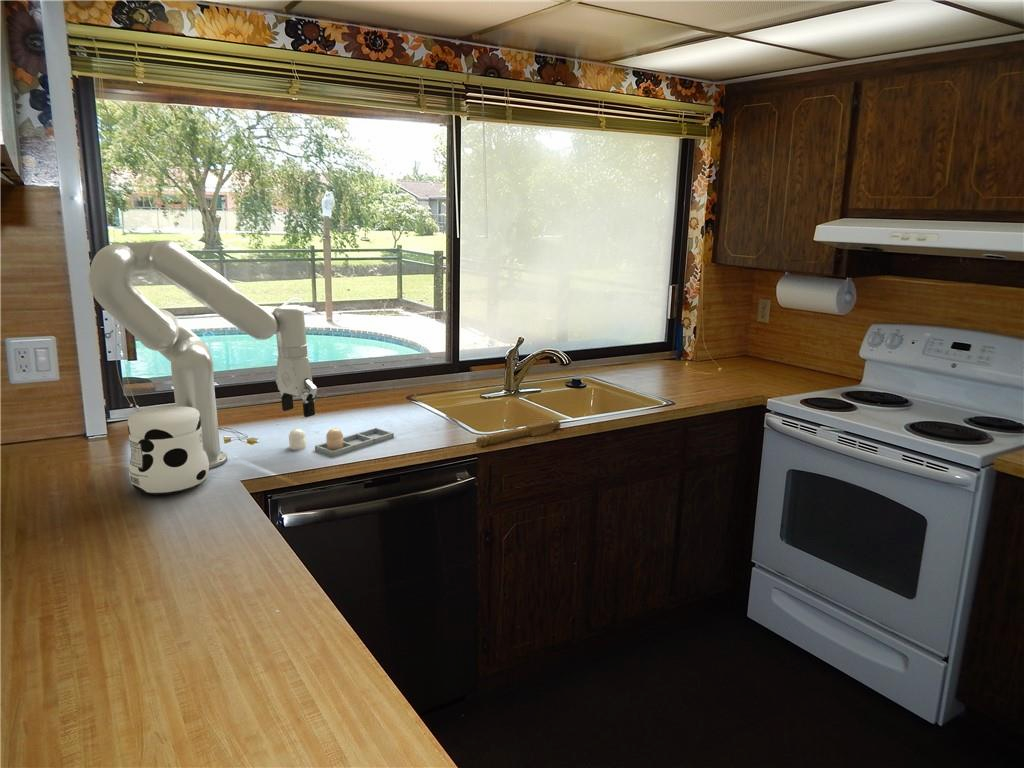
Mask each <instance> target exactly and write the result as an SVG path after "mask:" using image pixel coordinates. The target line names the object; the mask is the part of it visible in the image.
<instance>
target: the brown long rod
mask: <svg viewBox="0 0 1024 768" xmlns="http://www.w3.org/2000/svg"><path fill="white" fill-rule="evenodd" d="M560 428H561V422H560V421H559V420H557V419H556V420H553V421H551V420H542V421H537V422H534V423H533V422H532V423H529V424H525V427H523V428H519V429H515V430H509V431H504V432H497V433H492V434H488V435H486V436H478V437H477V438H476V439H475V443H476V445H477V446H478V447H480V448H481V447H487V446H488V445H490V446H491V445H494V444H498V443H499V444H500V443H502V442H506V441H510V440H514V439H517V438H521V437H528V436H529V437H534V436H539V435H543V434H548V433H552V432H554V430H558V429H560Z"/></svg>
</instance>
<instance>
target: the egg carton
mask: <svg viewBox="0 0 1024 768" xmlns="http://www.w3.org/2000/svg"><path fill="white" fill-rule="evenodd" d="M394 435H395V434H394V432H393V431H388V430H385V429H381V428H379V427H373V428H369V429H367V430H363V431H360V432H356V433H354V434H350V435H346V436H343V448H341V449H338V450H335V451H331V450H329V449H327V441H326V442H324V443H321V444H317V445H314V449H313V450H312V452H313V453H316V454H319V455H321V456H323V457H327V458H330V459H335V458H338V457H341V456H345V455H347V454H350V453H354V452H358V451H361V450H363V449H366V448H370V447H373V446H376V445H379V444H382V443H385V442H387V441H391V440H395V439H397V438H398V437H397V436H394Z"/></svg>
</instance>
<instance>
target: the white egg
mask: <svg viewBox="0 0 1024 768" xmlns="http://www.w3.org/2000/svg"><path fill="white" fill-rule="evenodd" d="M306 439H307V438H306V433H305V431H304V430H303V429H301V428H295V429H292V430H291V431H290V432H289V434H288V442H289V444H288V445H289V449H290V450H293V451H297V450H298V451H299V450H303V449H305V448H306V447H307V441H306Z"/></svg>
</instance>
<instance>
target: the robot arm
mask: <svg viewBox="0 0 1024 768" xmlns="http://www.w3.org/2000/svg"><path fill="white" fill-rule="evenodd" d="M150 276H151V277H152V276H160V277H161V278H162V279H164V280H165V281H167V282H169V283H170V284H172V285H174V287H176V288H177V289H179V290H181V291H183V292H184V293H186V294H187V295H188V296H190V297H191V298H193V299H194V300H196V301H197V302H199V303H200V304H202V305H203V306H205V307H206V308H207V309H208V310H209V311H210V310H211V311H212V312H214V313H216V314H217V315H218V316H220V317H221V318H222V319H224V320H226V322H228V323H230V324H232V325H233V326H234V327H236V328H237V329H238V330H240V331H242V332H243V333H245V334H247V335H248V336H250V337H252V338H253V339H255V340H259V341H265V340H268V339H270V338H272V337H273V336H274V335H275V336H276V344H277V355H278V356H277V359H276V362H277V363H276V378H275V383H276V385H277V390H278V391H279V397H281V398H280V399H281V409H282V411H283V412H287V411H289V410H293V409H294V408H295V407H294V400H293V399H294V398H293V396H294V397H295V396H296V397H299V396H301V399H302V401H303V403H302V410H303V418H309V417H311V416H313V417H314V416H315V415H316V410H315V401H316V398H317V392H318V387H317V386H316V385H315V384H314V383H313V376H312V372H311V371H312V370H311V369H312V368H311V365H310V360H309V357H308V356H309V355H308V344H307V333H306V323H305V315H304V314H305V313H304V309H303V307H302V306H300V305H297V304H287V305H286V304H285V305H284V304H283V305H279V306H267V305H263V306H262V305H258V304H257V303H255V302H254V301H253V300H251V299H250V298H248V297H247V296H245V295H244V294H243V293H242V292H240V291H239V290H237V288H235V287H234V286H233V285H232V284H231V283H230V282H229V281H228V280H227V279H226V278H225V277H224V276H222V275H221V274H220V273H219V272H217V271H215V270H214V269H212V268H211V267H209V266H208V265H206V264H205V263H204V262H202V261H200V260H199V259H198V258H197V257H195V256H193V255H192V254H190V253H189V252H188V251H187V250H185V249H184V248H182V246H181V245H180V244H178V243H177V242H175V241H172V240H156V241H146V242H144V241H143V242H127V243H112V244H109V245H105V246H104V247H102V248H101V249H99V251H97V252H96V253H95V255H94V257H93V259H92V261H91V264H90V267H89V273H88V284H89V288H90V291H91V293H92V295H93V297H94V299H95V300H96V302H98V303H97V304H99V305H100V306H101V308H102V309H103V310H105V311H106V312H107V313H108V314H109V315H110V316H112V318H114V319H115V320H116V321H117V322H118V323H119V324H120V325H121V326H122V327H123V328H124V329H126V330H127V331H128V332H129V333H130V334H131V335H132V336H133V337H134V338H136V339H137V340H138V341H139V342H140V343H141V344H142V345H143V346H144V347H145V348H147V349H149V350H151V351H157V352H158V353H160V354H161V355H162V356H163V357H164V358H165V359H167V360H168V361H169V362H170V368H171V369H170V370H171V377H172V378H171V380H172V384H173V395H174V402H175V403H174V406H184V407H191V408H195V409H197V410H198V411H199V414H200V418H201V428H202V441H203V446H204V449H205V452H206V454H207V457H208V460H209V469H213V468H215V467H219V466H221V465H223V464H224V463H226V462H227V461H228V455H227V453H226V452H224V451H221V444H220V433H219V424H218V423H219V422H218V411H217V402H216V392H215V377H214V376H215V375H214V363H213V359H212V353H211V352H210V351H211V350H210V349H209V347H208V345H207V344H206V343H205V342H204V341H203V340H202V339H201V338H200V337H199V336H198V335H196V334H195V333H194V332H193V331H192V330H191V329H190V328H189V327H187V326H186V324H184V323H183V321H181V320H180V319H179V318H178V317H177V316H176V315H174V314H173V313H172V312H170V311H169V310H167V309H163V308H158V307H156V306H155V305H154V304H153V303H152V302H151V301H150V300H148V299H147V298H146V296H145V295H143V294H142V292H140V291H139V290H138V289H136V288H135V286H134V285H133V284H132V282H131V278H139V277H150Z"/></svg>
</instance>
